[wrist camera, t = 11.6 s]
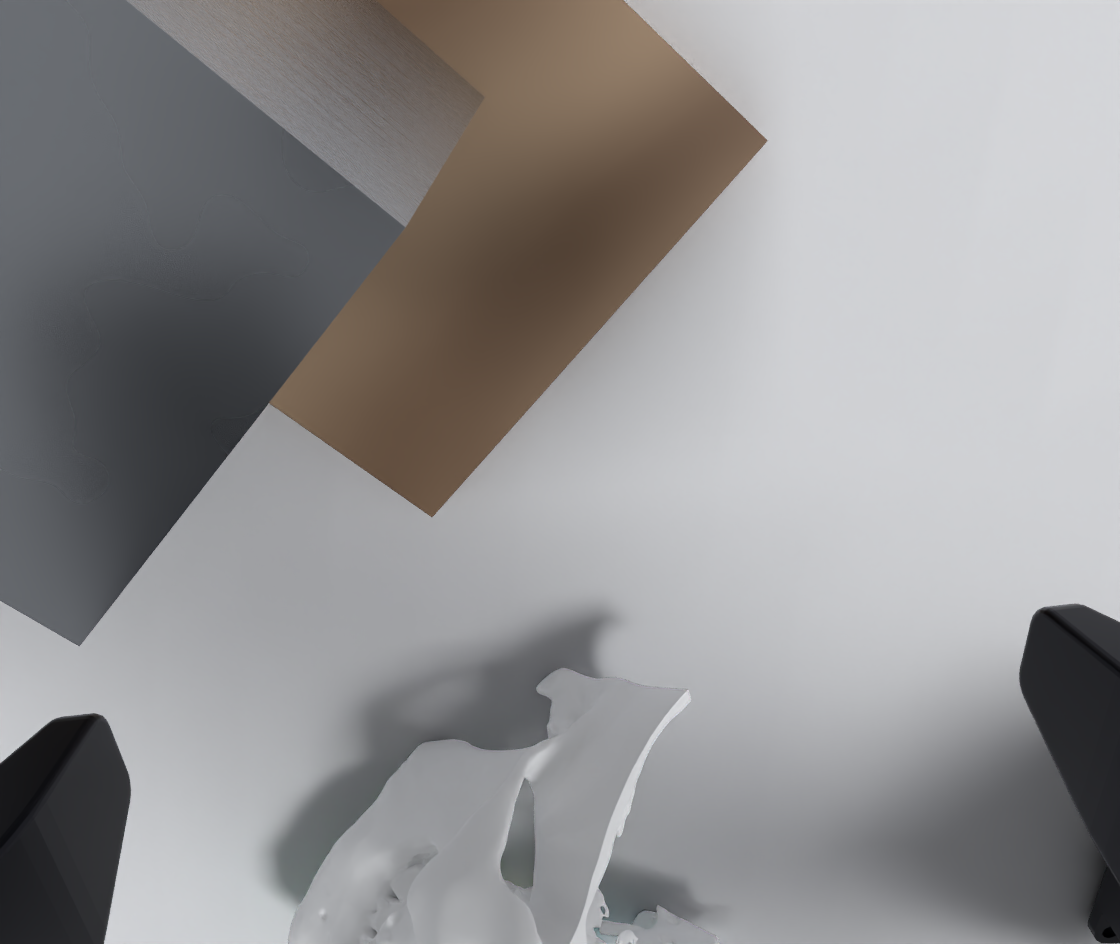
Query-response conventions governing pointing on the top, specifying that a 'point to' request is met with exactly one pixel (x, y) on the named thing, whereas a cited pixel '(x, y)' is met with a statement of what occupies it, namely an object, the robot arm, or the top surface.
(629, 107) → the plate
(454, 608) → the top surface
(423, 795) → the white crumpled lump
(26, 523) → the jaw
